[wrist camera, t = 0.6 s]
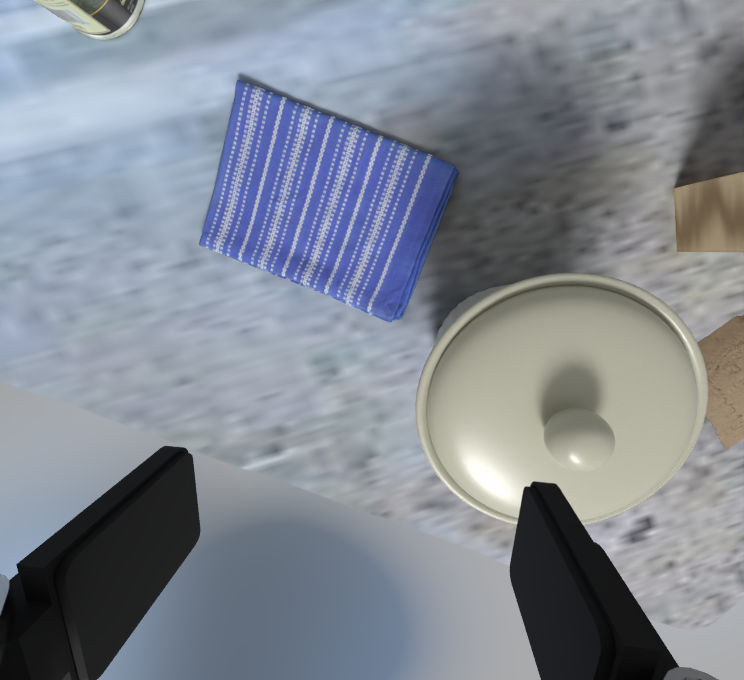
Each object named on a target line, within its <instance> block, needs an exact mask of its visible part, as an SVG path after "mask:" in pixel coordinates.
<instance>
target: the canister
mask: <svg viewBox="0 0 744 680" xmlns="http://www.w3.org/2000/svg"><path fill="white" fill-rule="evenodd" d="M707 402H708V380H707V373H706V367H705V363H704V360H703V356H702V354H701V351H700V348H699V346H698V344H697V342H696V340H695V338H694V336H693V335H692V333H691V331H690V330H689V328H688V327H687V326H686V324H685V323H684V322H683V321H682V319H681V318H680V317H679V316H678V315H677V314H676V313H675V312H674V311H673V310H672V309H671V308H670V307H669V306H668V305H666V304H665V303H664V302H663V301H661V300H660V299H658V298H657V297H655V296H654V295H652V294H651V293H649V292H647V291H645V290H643V289H642V288H639V287H637V286H635V285H633V284H630V283H628V282H625V281H622V280H619V279H615V278H611V277H607V276H602V275H596V274H588V273H557V274H548V275H542V276H537V277H533V278H529V279H525V280H522V281H519V282H516V283H513V284H510V285H503V286H499V287H492V288H488V289H486V290H484V291H479V292H477V293H476V294H474V295H472V296H469V297H467V298H466V299H465V300H464V301H463V302H461V303H458V305H457V306H456V308H454V309H453V310H451V311H450V314H449V315H448V316H447V318H446V319H444V321H443V324H442V326H441V327H440V328H439V330H438V334H437V337H436V339H435V342H434V346H433V349H432V351H431V353H430V355H429V357H428V359H427V361H426V363H425V366H424V368H423V371H422V374H421V377H420V380H419V385H418V389H417V396H416V423H417V430H418V435H419V439H420V442H421V445H422V448H423V451H424V453H425V455H426V457H427V460H428V461H429V463H430V465H431V467H432V468H433V470H434V471H435V473H436V474H437V476H438V477H439V478H440V480H441V481H442V482H443V483H444V484H445V485H446V486H447V487H448V488H449V489H450V490H451V491H452V492H453V493H454V494H455V495H456V496H457V497H459V498H460V499H461V500H463V501H464V502H465V503H467V504H468V505H470V506H471V507H473V508H475V509H477V510H478V511H480V512H482V513H484V514H487V515H489V516H491V517H494V518H496V519H499V520H502V521H505V522H509V523H512V524H517V523H518V517H519V511H520V506H521V500H522V494H523V490H524V487H526V486H528V487H530V485H531V483H532V482H533V481H536V482H546V483H555V484H557V485H558V486H559V488H560V489H561V491H562V493H563V494H564V496H565V497H566V499H567V500H568V502H569V504H570V505H571V507H572V508H573V510H574V512H575V513H576V515H577V516H578V518H579V520H580V521H581V523H582V524H583V525H586V524H590V523H594V522H598V521H601V520H604V519H607V518H610V517H613V516H615V515H618V514H620V513H622V512H624V511H626V510H628V509H630V508H632V507H634V506H636V505H637V504H639V503H641V502H642V501H644V500H645V499H647V498H648V497H650V496H651V495H652V494H654V493H655V492H656V491H657V490H659V489H660V488H661V487H662V486H663V485H664V484H665V483H666V482H668V481H669V480H670V479H671V477H672V476H673V475H674V474H675V473H676V472H677V471H678V470H679V468H680V467H681V466H682V464H683V463H684V462H685V460H686V459H687V457H688V456H689V454H690V453H691V451H692V449H693V447H694V445H695V443H696V441H697V439H698V437H699V434H700V432H701V429H702V426H703V423H704V419H705V415H706V409H707Z"/></svg>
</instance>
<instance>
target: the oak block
mask: <svg viewBox="0 0 744 680" xmlns="http://www.w3.org/2000/svg"><path fill="white" fill-rule="evenodd" d="M674 200H675V220H676V241H677V252H744V171H742V172H737V173H733V174H729V175H725V176H721V177H717V178H713V179H709V180H705V181H701V182H697V183H693V184H689V185H685V186H681V187H677V188H674Z"/></svg>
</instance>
